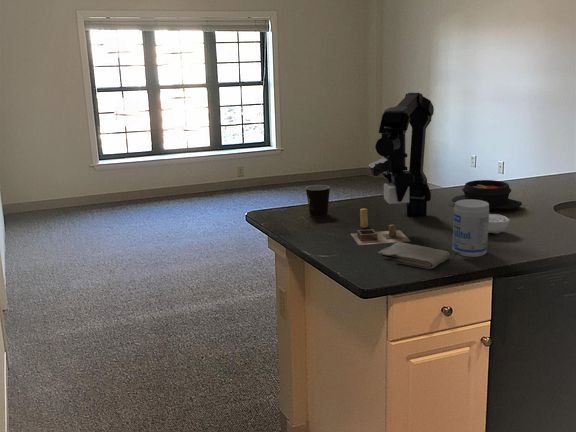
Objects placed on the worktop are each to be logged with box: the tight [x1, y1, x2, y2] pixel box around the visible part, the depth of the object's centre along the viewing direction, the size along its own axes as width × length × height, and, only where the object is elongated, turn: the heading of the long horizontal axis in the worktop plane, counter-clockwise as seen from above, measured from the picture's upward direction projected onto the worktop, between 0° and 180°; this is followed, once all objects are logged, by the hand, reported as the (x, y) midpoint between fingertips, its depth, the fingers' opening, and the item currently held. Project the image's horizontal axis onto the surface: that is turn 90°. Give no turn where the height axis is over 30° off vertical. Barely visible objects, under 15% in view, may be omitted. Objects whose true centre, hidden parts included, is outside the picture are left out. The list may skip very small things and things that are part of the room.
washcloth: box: [377, 242, 451, 270], centre depth 180 cm, size 12×18×3 cm, turn 51°
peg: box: [359, 207, 369, 229], centre depth 208 cm, size 2×2×7 cm
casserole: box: [451, 179, 523, 211], centre depth 230 cm, size 25×19×8 cm
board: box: [350, 224, 411, 246], centre depth 196 cm, size 16×12×5 cm
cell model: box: [488, 213, 511, 235], centre depth 199 cm, size 10×12×7 cm
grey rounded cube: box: [383, 182, 409, 205], centre depth 200 cm, size 6×6×5 cm
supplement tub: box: [451, 199, 490, 258], centre depth 180 cm, size 10×10×15 cm
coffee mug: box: [305, 184, 331, 218], centre depth 231 cm, size 12×9×10 cm
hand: (396, 198), depth 201 cm, fingers closed on grey rounded cube, 6 cm apart
